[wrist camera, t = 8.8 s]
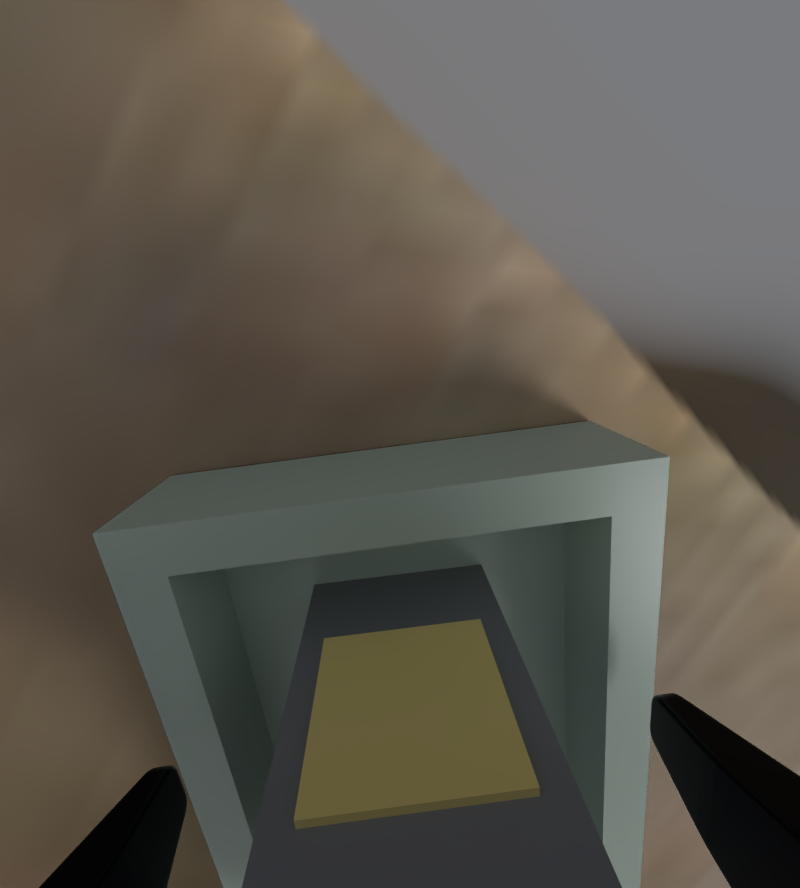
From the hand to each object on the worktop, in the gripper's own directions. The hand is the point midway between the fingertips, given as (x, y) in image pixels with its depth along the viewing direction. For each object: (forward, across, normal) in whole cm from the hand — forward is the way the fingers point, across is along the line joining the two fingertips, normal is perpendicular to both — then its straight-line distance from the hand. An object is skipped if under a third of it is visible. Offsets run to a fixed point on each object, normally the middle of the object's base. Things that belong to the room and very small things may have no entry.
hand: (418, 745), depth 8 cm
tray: (+4, 0, +2) cm, 4 cm away
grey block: (+3, 0, +2) cm, 3 cm away
